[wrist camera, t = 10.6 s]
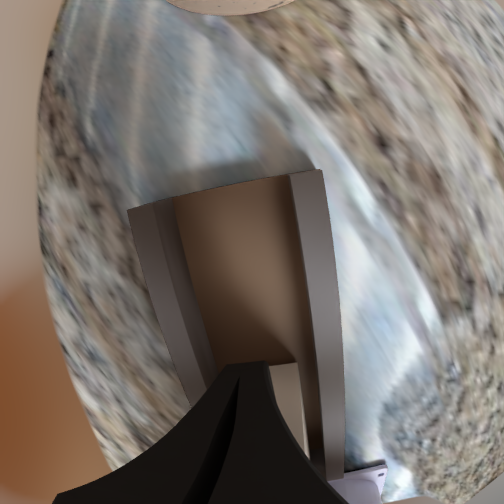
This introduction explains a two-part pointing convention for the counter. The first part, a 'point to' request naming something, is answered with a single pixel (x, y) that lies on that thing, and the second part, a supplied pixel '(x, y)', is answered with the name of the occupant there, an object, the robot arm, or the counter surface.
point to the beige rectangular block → (291, 401)
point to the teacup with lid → (228, 6)
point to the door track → (251, 291)
